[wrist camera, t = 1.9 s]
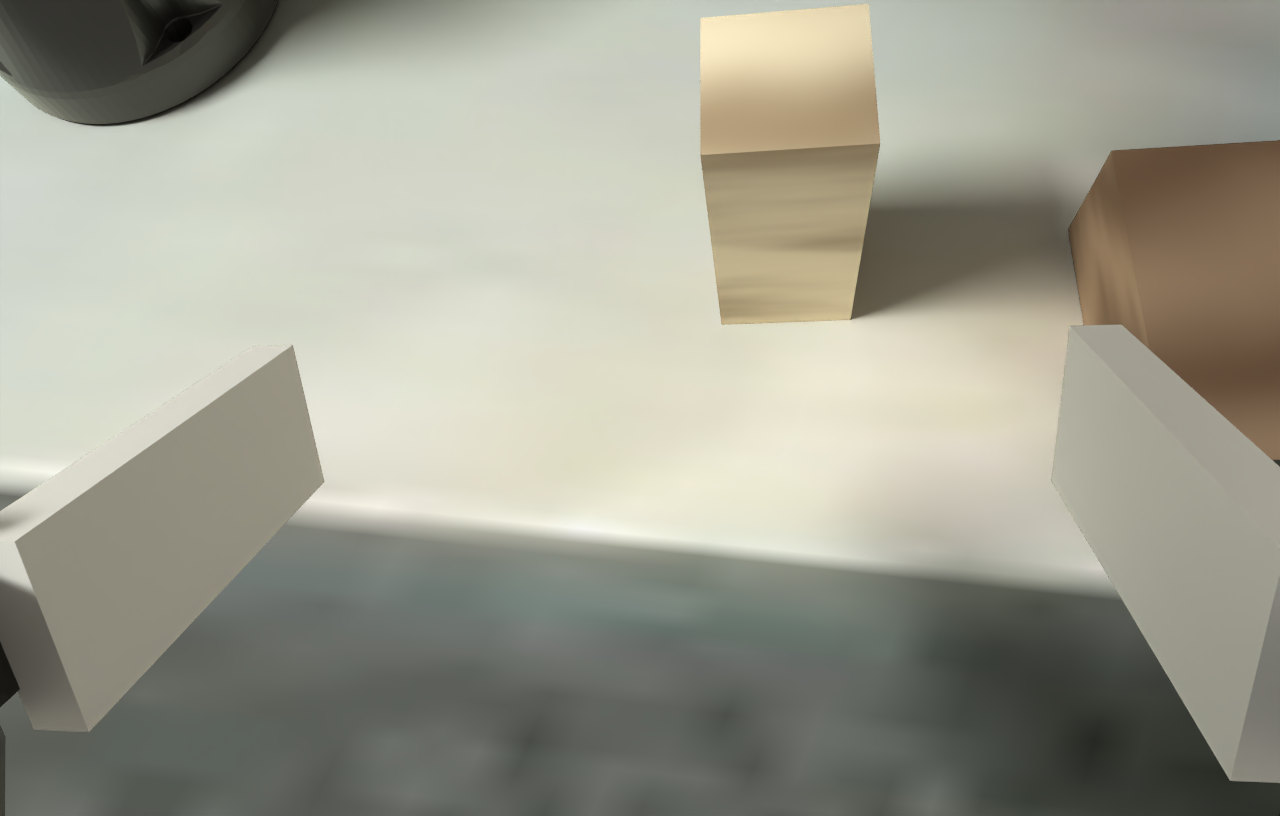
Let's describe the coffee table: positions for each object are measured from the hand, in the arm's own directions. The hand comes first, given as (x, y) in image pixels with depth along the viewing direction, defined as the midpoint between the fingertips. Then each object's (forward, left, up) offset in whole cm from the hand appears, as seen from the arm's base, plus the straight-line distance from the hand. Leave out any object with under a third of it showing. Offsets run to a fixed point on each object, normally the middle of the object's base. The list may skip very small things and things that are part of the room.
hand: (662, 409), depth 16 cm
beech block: (-13, +3, -18) cm, 23 cm away
